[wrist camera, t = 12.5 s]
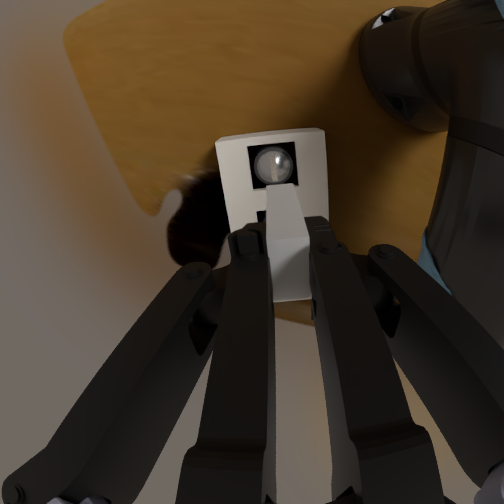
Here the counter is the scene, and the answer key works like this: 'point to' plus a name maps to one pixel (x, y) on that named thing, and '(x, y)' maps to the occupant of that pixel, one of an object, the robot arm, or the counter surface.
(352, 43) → the counter surface
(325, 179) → the console
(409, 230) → the counter surface
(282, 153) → the knob
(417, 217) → the counter surface
